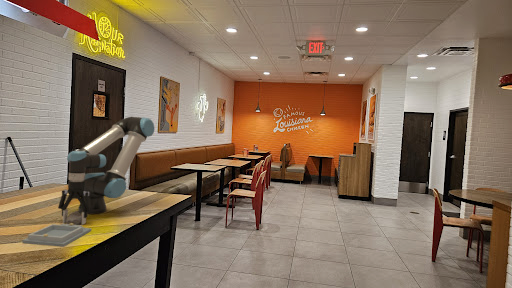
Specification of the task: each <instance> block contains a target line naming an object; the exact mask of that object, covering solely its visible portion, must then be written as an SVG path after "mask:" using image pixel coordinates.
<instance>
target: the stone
mask: <svg viewBox="0 0 512 288" xmlns="http://www.w3.org/2000/svg"><path fill="white" fill-rule="evenodd" d="M70 223H73V225H82V213H79V212H78V210H75V211H72V212H71V213H69V214H68V217H67V220H66V222H65V224H70Z"/></svg>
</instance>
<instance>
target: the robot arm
mask: <svg viewBox="0 0 512 288" xmlns="http://www.w3.org/2000/svg"><path fill="white" fill-rule="evenodd" d="M154 132H155V125H154V122H153V120H152V119H151V118H148V117H139V116H137V117H136V116H128V117H124V118H122V119H120V120H119V121H117V122H115V123H114V124H113V125H112V126H111V128H110V129H108V130H107V131H105V132H104V133H103V134H100V135H99V136H98V137H97V138H95V139H93V140H92V141H91V142H89V143H87V144H86V145H85V146H83V147H82V148H80V149H79V150H73V151H70V152H69V153H68V154H67V157H66V160H67V162H68V163H69V165H68V167H69V168H68V182H67V188H68V189H63V190H61V197H60V200H59V204H58V206H57V209H59V210H61V216H62V224H66V220H67V217H68V216H69V214H68V213H69V209H68V206H69V205H70V204H71V202H72V201H73V199H75V200H76V199H77V201H79V206H78V210H77V211H78V212H79V213H81V215H82V223H81V225H82V226H83V225H85V224H87V218H88V216H89V215H95V214H101V213H105V212H106V211H107V204H106V200H105V197H106V198H108V199H118V198H120V197H121V196H122V195H124V193H125V191H126V190H127V182H126V181H127V177H126V175H127V172H128V171H129V168H130V166H131V164H132V163H133V160H134V158H135V157H136V155H137V153H138V151H139V148H140V147H141V145H142V143H143V142H146V140H147V138H148V137H151V136H152V135H154ZM125 136H128V137H127V139H126V141H125V142H124V144H123V146H122V148H121V150H120V152H119V154H118V156H117V157H116V160H115V161H114V163H113V165H112V167H111V169H110V170H107V171H106V172H91V173H90V172H89V173H86V170H87V169H99V168H100V169H101V168H103V167H105V166H106V164H107V157H106V156H105V155H104V154H101V153H100V152H102V151H103V150H105V149H106V148H108V146H110V145H112V143H114V142H116V141H117V140H119V139H120V138H121V139H122V138H124V137H125Z"/></svg>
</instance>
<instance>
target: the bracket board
mask: <svg viewBox="0 0 512 288" xmlns="http://www.w3.org/2000/svg"><path fill="white" fill-rule="evenodd" d="M91 232H92V228H89V227H84V226H83V225H82V224H76V225H73V223H70V224H67V223H61V224H55V223H53V224H52V223H51V224H49V225H47V226H45V227H42V228H40V229H38V230H36V231H34V232H31V233H29V234H28V235H27V238H24V239H22V244H29V245H40V246H53V247H63V248H64V247H65V246H68V245H69V244H70V243H71V244H72V243H73V242H74V241H76V240H77V239H79V238H82V237H83V236H85V235H87V234H88V233H91Z"/></svg>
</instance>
